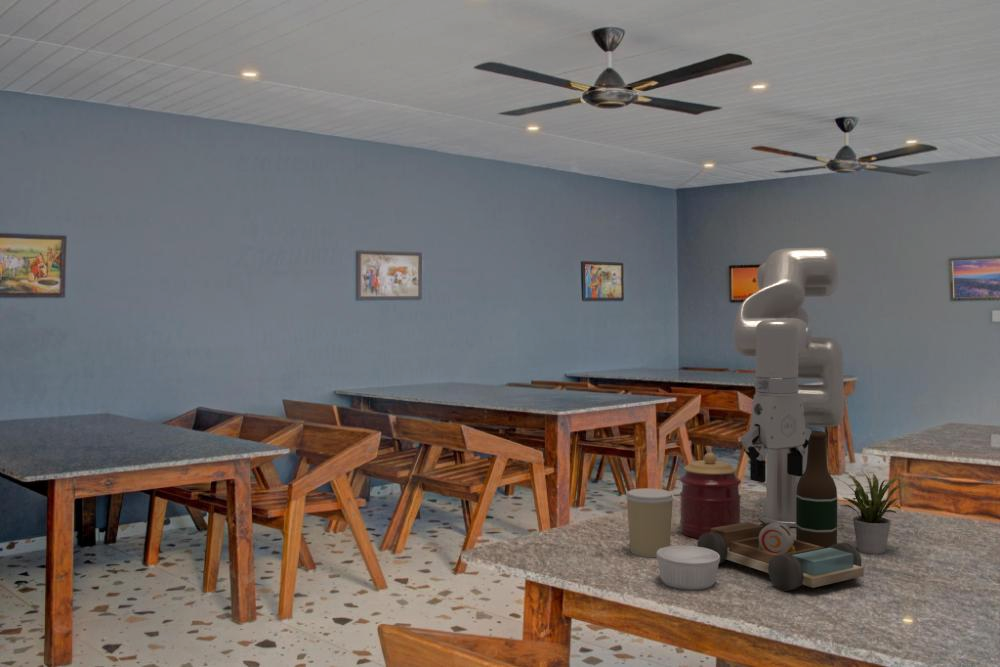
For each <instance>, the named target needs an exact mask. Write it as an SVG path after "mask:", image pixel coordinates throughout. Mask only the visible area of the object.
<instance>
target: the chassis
mask: <svg viewBox="0 0 1000 667" xmlns="http://www.w3.org/2000/svg"><path fill="white" fill-rule="evenodd" d="M768 524H770V523H764V522H763V523H760V524H757V523H754V522H749V521H746V522H745V521H744V522H740V523H739V524H733V525H727V526H721V527H715V528H711V533H705V534H702V535H701V536H700V537H699V538H697V545H696V546H697V547H703V548H707V549H711V550H713V551H715V552H717V553H718V554H719V555H720V562H719V564H718V565H721V564H723V563H725V561H726V560H728V561H731V562H734V563H737V564H740V565H743V566H745V567H748V568H753V569H754V570H755V569H756V570H758V571H762V572H763V573H767V574H768V575H769V578H770V581H771V583H772V584H773V585H774V587H775V588H776V589H778V590H780V591H781V592H788V591H793V590H797V589H799V588H800V587H801V586H802V585H803V586H806V587H810V588H817V587H822V586H827V585H831V584H834V583H839V582H843V581H848V580H852V579H856V578H860V577H864V576H865V573H864V572H865V571H864V569H865V568H864V567H863V566H862V557H861V555H860V551H859V550H858V548H857V547H855V546H854V545H853V544H852V543H849V542H840V543H838V542H837V544H834V545H832V546H830V548H825V547H821V546H817V545H814V544H810V543H806V542H803V541H799V540H796V539H795V538H794V543H793V546H794V547H795V551H794V552H789V553H784V554H779V555H778V554H774V553H771V552H768V551H764V550H761V549H759V534H760V532H761V530H762V529H763V528H764V527H765V526H767V525H768Z"/></svg>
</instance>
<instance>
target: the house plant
mask: <svg viewBox="0 0 1000 667" xmlns="http://www.w3.org/2000/svg"><path fill="white" fill-rule="evenodd" d="M860 471H861V472H862V474H864V476H865V477H866V481H867V482H868V487H869V492H870V493H869V494H870V498H869V495H868V493H867V492H866V491H865V490H864V487H863V485H862V484H861V483H860V482H859V480H858V479H856V478H855V477H854V476H852V475H851V474H847V475H848V476H849V478H850V479H851V480H852V481H853V483H854V485H855V490H854V489H853V488H852V486H850V485H849V484H848V483H846V482H845V481H843V480H840V479H837V480H838V481H839V482H840V481H841V482H842V483H844V484H846V485H847V486H848V487H849V488H850V489H851V490H852V491H853V492H854V497H852V499H851V498H848V497H844V496H842V499H844V500H846V501H848V503H851V504H853V505H854V506H855V507H857V508H858V510H859V511H860V513H859V511H857V509H856V508H854V507H852V505H849V504H843V505H842V507H846V508H850V509H852V510H853V511H855V512H856V513H857V514H858V515H857V516H853V517H852V521H853V529H854V534H855V540H856V549H857V551H858V552H862V553H865V554H875V555H876V554H877V555H878V554H885V553H886V551H887V550H886V549H887V544H888V540H889V532H890V528H891V522H892V521H891V520H890V519H888V518H886V517H883V516H884V514H885V513H894V514H897V511H896V510H892V509H889V508H892V507H894V508H897V509H899V510H900V511H902V510H901V509H902V508H901V506H900V505H898V504H896V505H894V503H895V502H896V501H897V500H899V499H901V497H896V498H893V499H892V500H889V499H890V498H891V496H892V495H893V493H895V491H897V490H898V489H899V488H900V487H903V486H905V485H912V483H910V482H903V483H899V484H897V485H896V486H894V487H893V489H891V491H889V493H888V494H887V495H886V497H885V498H884V496H885V494H886V493H887V491H888V489H890V487H891V485H893V483H895V482H896V481H898V480H899V479H901V478H904V477H906V476H905V475H904V476H897V477H894V478H892V479H891V480H890V479H889V480H888V482H887V483H886V484H885V481H886V479H884V480H882V482H881V483H879V479H878V477H877V476H876V474H875V473H873V474H872V480H871V477H870V476H871V475H870V474H869V473H868V472H867V470H866V473H867V474H868V475H867V474H866V473H865V471H863V470H860ZM884 484H885V485H884ZM879 485H880V486H879ZM891 505H892V506H891Z"/></svg>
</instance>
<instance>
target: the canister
mask: <svg viewBox="0 0 1000 667" xmlns="http://www.w3.org/2000/svg"><path fill="white" fill-rule="evenodd" d="M683 470H684V471H685V472H684V474H683V475H681V476H680V478H679V481H680V483H681V485H682V486H681V491H680V492H679V497H680V519H679V528H680V532H681V533H682V535H684V536H686V537H689V538H694V539H699V537H700V536H701V535H702V534H705V533H711V528H715V527H721V526H727V525H733V524H739V523H741V498H742V496H741V494H740V492H739V486H740V484H741V483H742V480H741V478H739V477H738V476H736V473H737V471H738V470H737V468H736V467H734V466H733V465H731V464H730V463H729V462H726V461H722V460H721V461H720V460H717V457H716V454H715V453H713V452H707V453H706V454H704V458H703V460H694V461H691V462H689V464H687V465H685V466H684V467H683Z"/></svg>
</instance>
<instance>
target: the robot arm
mask: <svg viewBox="0 0 1000 667" xmlns="http://www.w3.org/2000/svg"><path fill="white" fill-rule="evenodd" d="M756 271H757V273H756V275H757V276H756V278H757V279H756V280H757V285H758V290H756V291H755V292H753V293H752V294H751V295H750V296H748V297H746V299H744V300H743V302H741V304H740V305H739V307H738V308H737V312H736V316H735V321H734V326H733V337H732V338H733V339H732V340H733V344H734V345H733V346H734V349H735V350H736V351H737V353H739V354H740V355H741V356H745V357H755V382H754V383H753V387H754V388H755V393H754V394H753V400H752V401H753V402H752V407H751V416H750V429H749V430H747V431H746V432H745V433H744V434H743V435H742V436H740V442H741V446H742V447H743V452H744V453H745V454H746V455H747V459H749V461H750V462H749V466H750V468H749V472H750V473H749V474H750V475H749V479H750V480H751V481H754V482H759V483H765V482H766V486H765V488H766V489H765V492H766V493H765V494H766V497H763V496H760V497H759V498H758V499H757V500H756V501H755V506H757V507H761V508H762V512H760V513H759V515H758V519H759V520H760V521H761V522H762V523H763V524H764V523H772V522H781V523H784V524H785V525H787V526H788V527H789V528H796V493H797V485H798V482H799V479H800V478H801V476H802V475H803V473H804V472H805V470H806V465H807V453H808V440H809V438H810V435H811V431H812V430H811V429H810V428H808V427H814V428H815V427H817V428H833V427H838V426H839V425H840V424H841V422H842V421H843V418H844V411H845V410H844V406H845V405H844V404H845V402H844V400H845V399H844V398H845V396H844V394H845V392H844V389H845V388H844V384H845V383H844V382H845V381H844V377H845V376H844V355H843V354H844V353H843V349H842V345H841V344H840V342H839V341H838V340H837V339H835V338H832V337H827V336H825V337H824V336H812V332H811V328H810V327H809V316H808V313H807V312H806V310H805V308H804V307H803V304H804V302H805V298H807V297H820V298H821V297H822V298H823V297H831V296H833V295H834V293H835V292H836V291H837V289H838V285H839V265H838V259H837V258H836V255H835V253H834V252H833V251H832V250H830V249H829V248H827V247H822V246H820V247H819V246H817V247H813V246H812V247H785V248H780V249H776V250H775V251H773V252H772V253H771V254H770V255H769V256H768V257H767V259H766V261H765V262H763V263H761V264H760V265H759V266H758V268H757V270H756ZM799 379H812V380H813V379H815V380H820V381H821V382H822V384H803V383H799ZM758 450H759V451H758ZM765 456H766V460H764V458H765Z"/></svg>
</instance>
